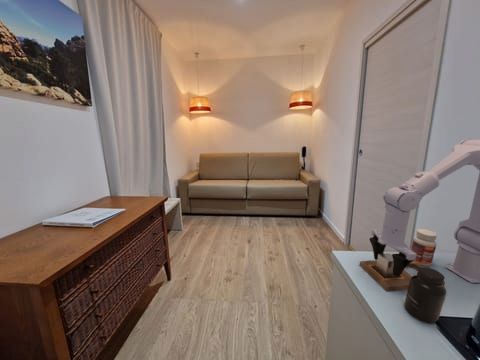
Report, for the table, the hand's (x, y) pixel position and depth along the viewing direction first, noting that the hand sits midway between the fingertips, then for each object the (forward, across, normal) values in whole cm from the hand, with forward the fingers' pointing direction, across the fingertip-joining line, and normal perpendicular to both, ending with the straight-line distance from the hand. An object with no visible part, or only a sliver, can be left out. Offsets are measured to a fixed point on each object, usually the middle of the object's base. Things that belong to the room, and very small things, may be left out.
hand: (386, 266), depth 67 cm
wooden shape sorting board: (+4, 0, +5) cm, 6 cm away
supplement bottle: (+4, +14, -2) cm, 14 cm away
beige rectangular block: (+4, 0, 0) cm, 4 cm away
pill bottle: (+4, -6, +19) cm, 20 cm away
